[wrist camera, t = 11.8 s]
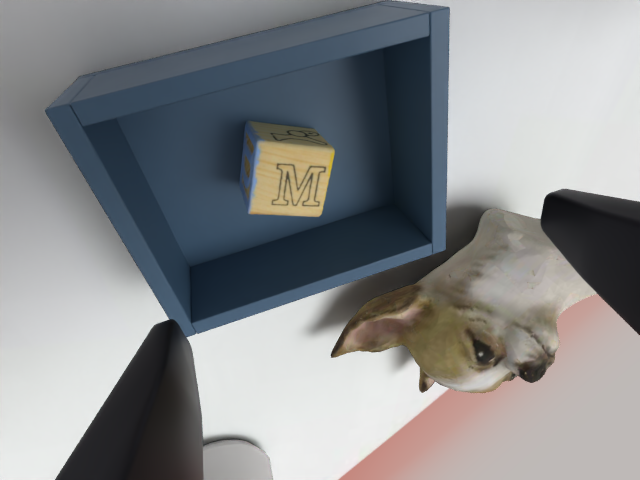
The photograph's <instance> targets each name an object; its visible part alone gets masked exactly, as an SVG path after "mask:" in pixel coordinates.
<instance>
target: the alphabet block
mask: <svg viewBox="0 0 640 480" xmlns="http://www.w3.org/2000/svg"><path fill="white" fill-rule="evenodd" d="M334 154H335V150H334V148H333V147H332V146H331V145H330V144H329V143H328V142H327V141H326V140H325V139H324V138H323V137H322V136H321V135H320V134H319V133H318V132H317V131H316V130H315V129H311V128H302V127H294V126H285V125H277V124H269V123H261V122H253V121H246V124H245V131H244V142H243V153H242V162H241V172H240V182H239V185H240V189H241V192H242V195H243V198H244V202H245V205H246V209H247V212H248V214H265V215H288V216H309V217H319V216H320V215H321V214H322V211H323V205H324V201H325V197H326V191H327V186H328V181H329V178H330V173H331V169H332V163H333V159H334Z"/></svg>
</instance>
